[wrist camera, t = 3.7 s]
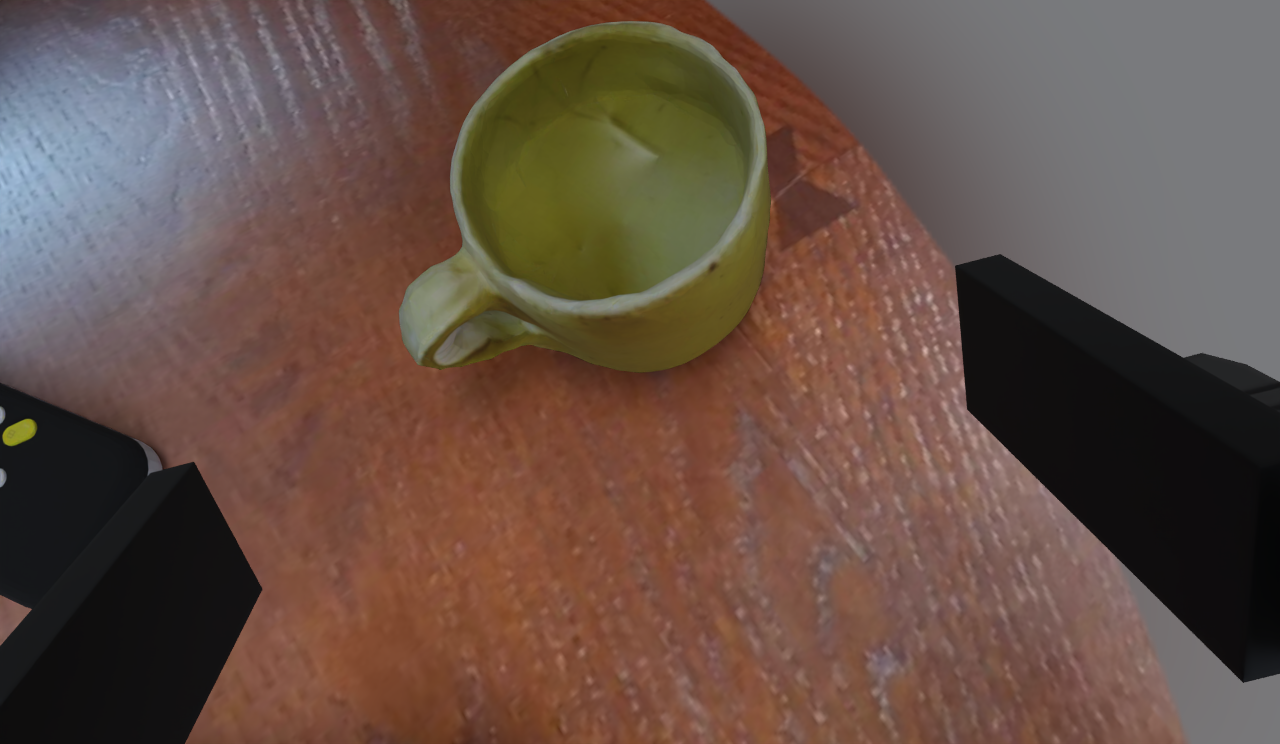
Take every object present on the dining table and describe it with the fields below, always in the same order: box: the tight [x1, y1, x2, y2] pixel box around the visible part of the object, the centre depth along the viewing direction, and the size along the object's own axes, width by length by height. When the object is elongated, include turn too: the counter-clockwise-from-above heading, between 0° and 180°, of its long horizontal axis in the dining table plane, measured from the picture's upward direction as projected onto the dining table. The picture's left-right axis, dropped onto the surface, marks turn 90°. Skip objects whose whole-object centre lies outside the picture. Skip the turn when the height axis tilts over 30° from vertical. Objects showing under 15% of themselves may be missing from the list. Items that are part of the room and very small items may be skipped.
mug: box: [399, 21, 771, 373], centre depth 27 cm, size 12×10×10 cm
